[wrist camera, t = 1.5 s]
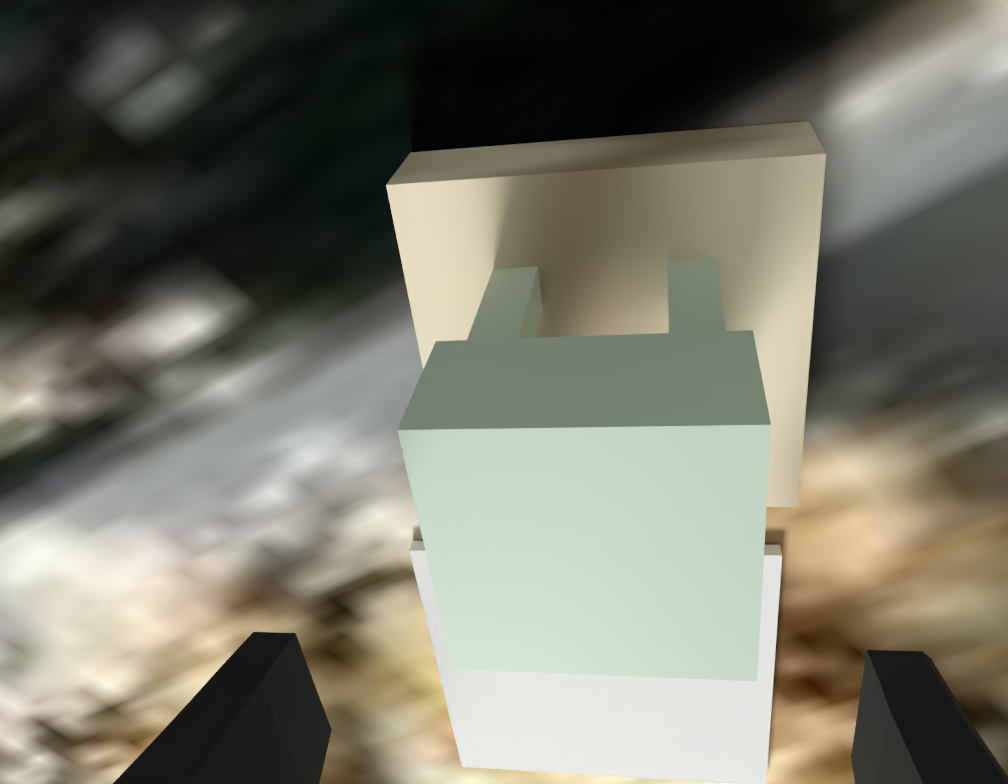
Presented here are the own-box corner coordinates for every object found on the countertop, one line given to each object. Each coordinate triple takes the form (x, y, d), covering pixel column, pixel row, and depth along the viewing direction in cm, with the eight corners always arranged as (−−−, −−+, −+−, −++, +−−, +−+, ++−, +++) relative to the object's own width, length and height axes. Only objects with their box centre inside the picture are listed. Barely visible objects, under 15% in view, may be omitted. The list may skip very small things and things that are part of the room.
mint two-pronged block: (734, 238, 16) (771, 424, 11) (729, 454, 19) (756, 681, 14) (473, 253, 17) (397, 430, 12) (504, 455, 19) (452, 669, 15)
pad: (780, 544, 22) (782, 555, 22) (764, 774, 28) (765, 785, 27) (412, 540, 24) (409, 550, 24) (464, 756, 30) (461, 766, 29)
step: (809, 121, 16) (826, 153, 15) (786, 453, 21) (797, 506, 19) (410, 152, 18) (385, 185, 16) (466, 455, 22) (450, 506, 21)
